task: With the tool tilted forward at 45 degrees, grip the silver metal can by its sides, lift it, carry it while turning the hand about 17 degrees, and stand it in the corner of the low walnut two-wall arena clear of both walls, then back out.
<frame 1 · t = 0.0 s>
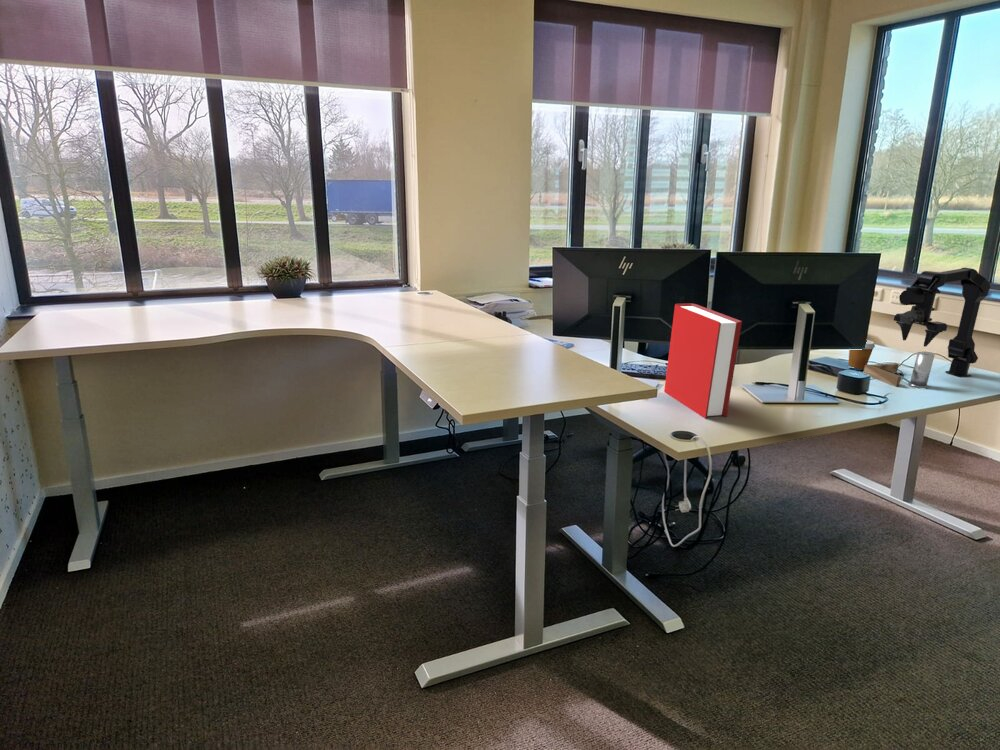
hand: (914, 343, 248), 15 cm above the table, tool pointing down, fingers open, 9 cm apart
book: (692, 403, 216), on the table
disposable coffee cup: (856, 369, 263), on the table
silver metal can: (917, 385, 244), on the table
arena: (893, 378, 252), on the table
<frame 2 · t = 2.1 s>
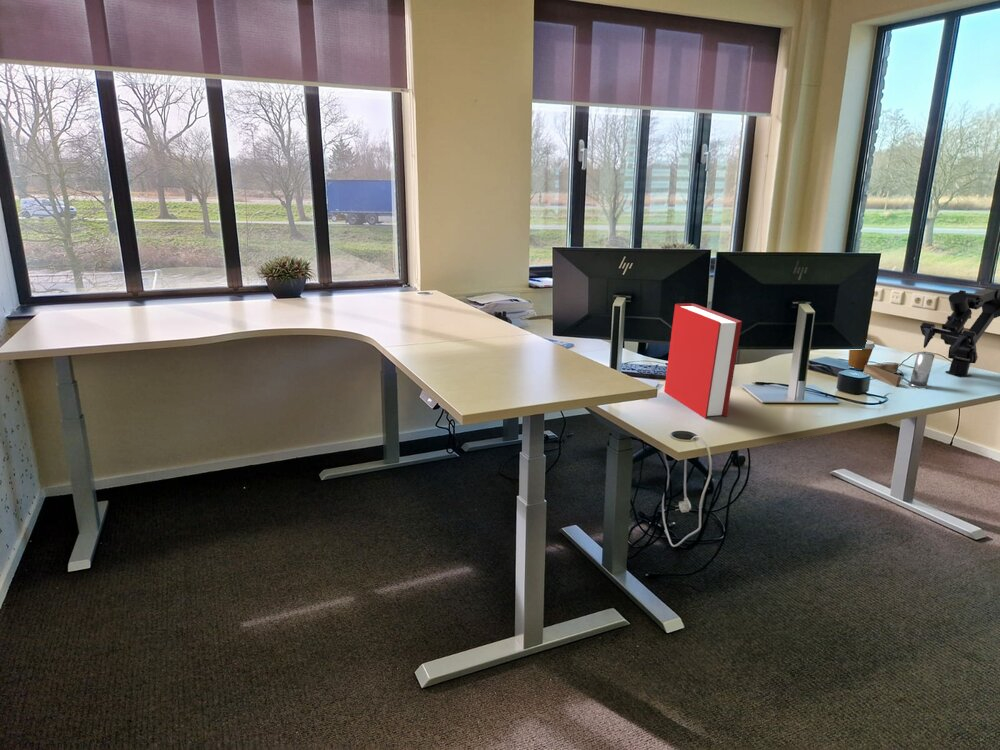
hand: (936, 350, 243), 13 cm above the table, tool tilted 45°, fingers open, 9 cm apart
nothing on the table moved.
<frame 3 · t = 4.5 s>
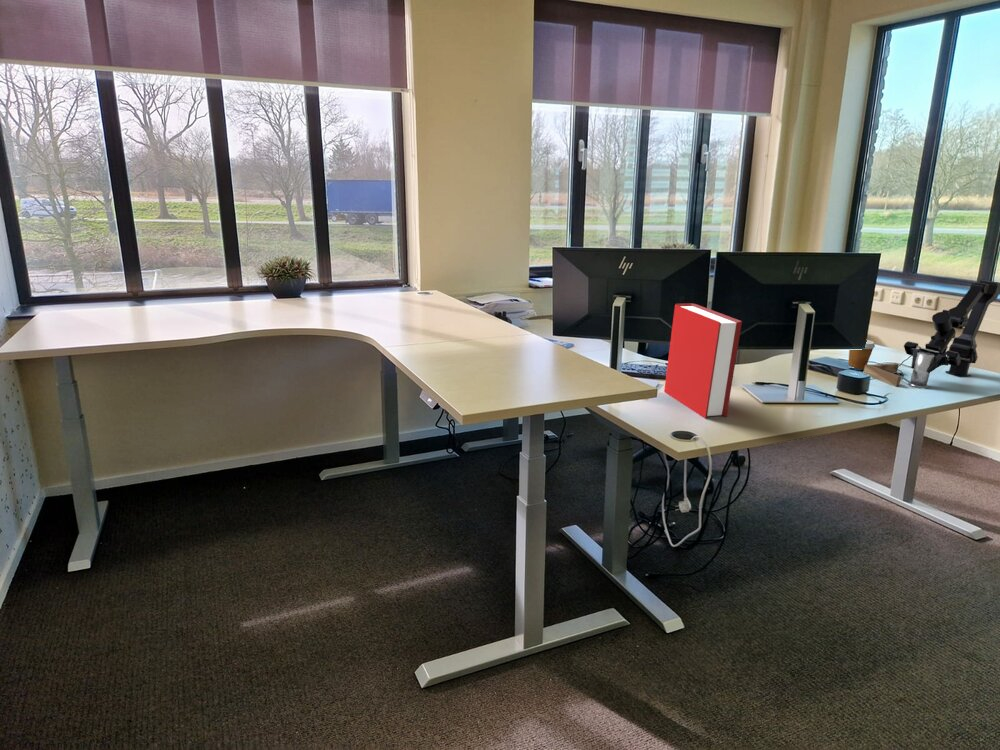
hand: (920, 370, 241), 7 cm above the table, tool tilted 45°, fingers closed on silver metal can, 5 cm apart
silver metal can: (917, 385, 244), on the table, touching gripper
everything else where it was.
when the fingers open (7 cm above the table, at t = 8.0 s): silver metal can stays where it is, on the table.
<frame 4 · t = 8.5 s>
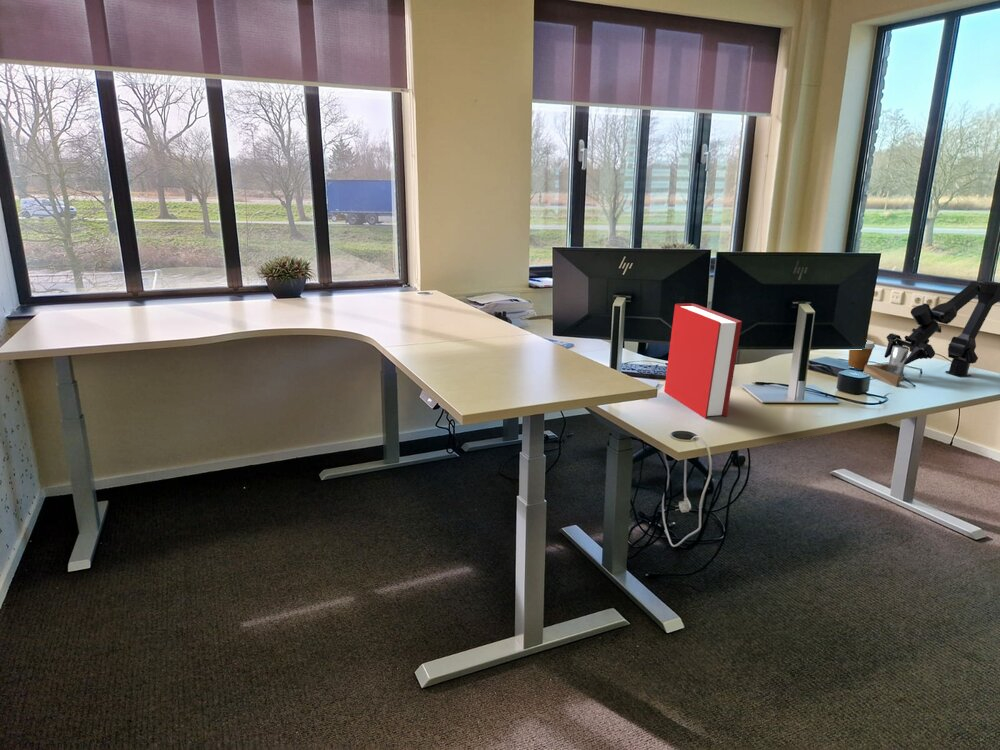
hand: (894, 360, 249), 8 cm above the table, tool tilted 45°, fingers open, 9 cm apart
silver metal can: (893, 378, 252), on the table
everything else where it was.
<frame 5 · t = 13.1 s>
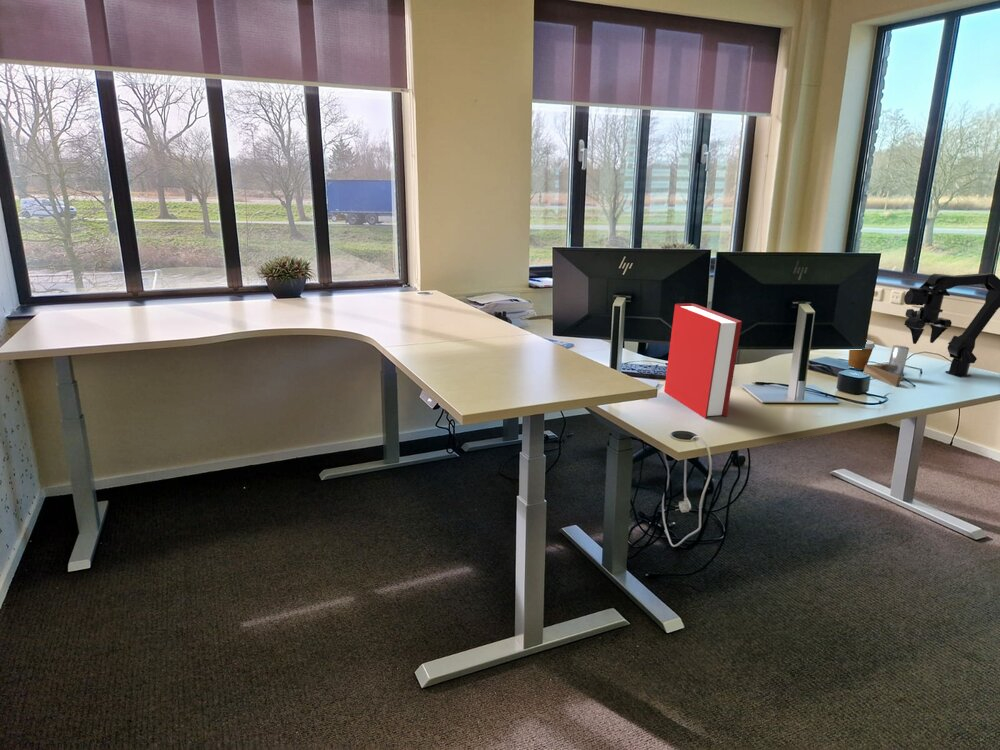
hand: (922, 343, 257), 12 cm above the table, tool pointing down, fingers open, 9 cm apart
nothing on the table moved.
at the end: silver metal can inside the target area on the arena (0.3 cm from its centre), point 0.0 cm above the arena's base; silver metal can touching table; silver metal can tilted 0° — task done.
